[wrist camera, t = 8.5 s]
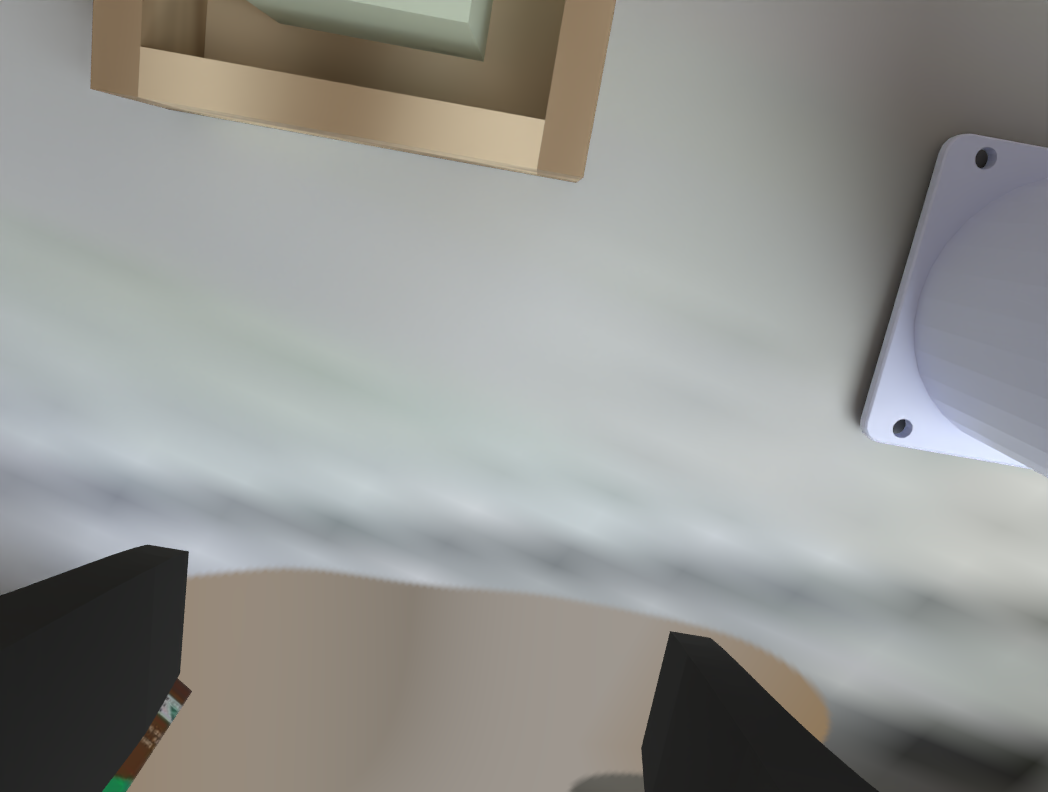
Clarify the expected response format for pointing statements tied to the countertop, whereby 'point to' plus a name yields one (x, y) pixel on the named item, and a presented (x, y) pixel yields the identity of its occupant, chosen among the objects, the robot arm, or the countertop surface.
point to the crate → (370, 79)
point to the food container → (149, 739)
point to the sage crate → (394, 22)
